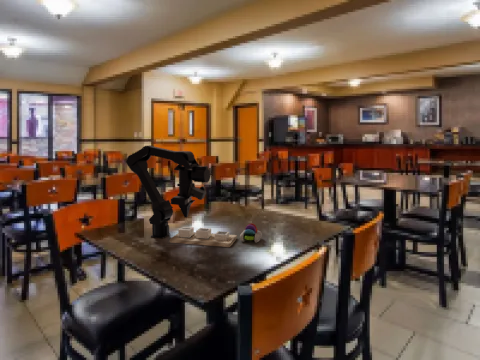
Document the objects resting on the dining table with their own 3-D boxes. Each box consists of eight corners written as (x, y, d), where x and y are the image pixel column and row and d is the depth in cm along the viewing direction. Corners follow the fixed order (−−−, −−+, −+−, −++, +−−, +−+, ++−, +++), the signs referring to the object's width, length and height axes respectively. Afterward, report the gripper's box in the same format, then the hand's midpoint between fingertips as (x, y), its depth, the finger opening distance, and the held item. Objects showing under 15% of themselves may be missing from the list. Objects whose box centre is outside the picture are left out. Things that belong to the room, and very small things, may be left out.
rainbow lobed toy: (263, 238, 151) (263, 222, 150) (258, 244, 142) (258, 227, 141) (244, 236, 154) (244, 220, 153) (238, 243, 144) (238, 226, 143)
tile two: (196, 237, 145) (196, 230, 145) (200, 234, 150) (200, 227, 150) (207, 238, 144) (207, 231, 144) (211, 235, 149) (211, 228, 149)
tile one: (178, 236, 147) (178, 229, 147) (182, 233, 152) (182, 226, 152) (189, 237, 146) (189, 230, 146) (193, 234, 151) (193, 227, 150)
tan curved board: (169, 242, 144) (169, 239, 144) (180, 234, 156) (180, 231, 156) (229, 247, 139) (229, 243, 139) (236, 238, 150) (236, 235, 150)
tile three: (214, 241, 144) (214, 234, 143) (218, 237, 149) (217, 230, 148) (226, 242, 143) (226, 234, 142) (229, 238, 147) (229, 231, 147)
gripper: (196, 185, 135) (196, 224, 137) (210, 179, 153) (210, 213, 155) (169, 183, 138) (170, 222, 140) (186, 178, 156) (187, 212, 158)
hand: (186, 217), depth 148 cm, fingers closed
